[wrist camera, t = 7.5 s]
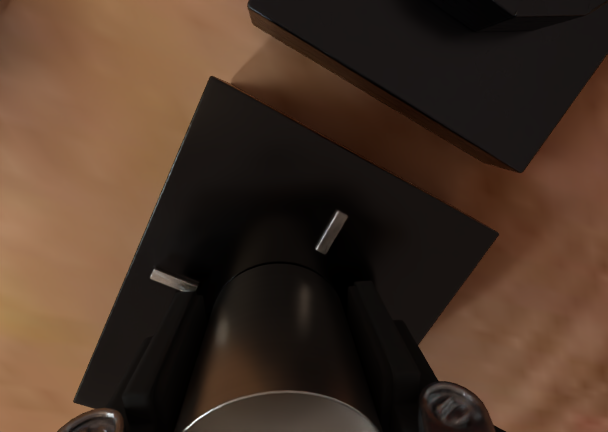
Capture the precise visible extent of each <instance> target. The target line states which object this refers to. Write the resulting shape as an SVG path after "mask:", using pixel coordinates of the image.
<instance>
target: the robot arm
mask: <svg viewBox="0 0 608 432" xmlns="http://www.w3.org/2000/svg"><path fill="white" fill-rule="evenodd" d="M347 322H348V325H349V328H350V331H351V334H352V338H353V341H354V344H355V347H356V350H357V353H358V356H359V359H360V362H361V366H362V369H363V372H364V375H365V378H366V381H367V384H368V387H369V391H370V394H371V397H372V400H373V403H374V406H375V409H376V412H377V415H378V419H379V422H380V425H381V428H382V431H383V432H506V431H504V430H502V429H500V428H498V427H496V426H494V425H493V423H492V421H491V418H490V416H489V413H488V410H487V409H486V407H485V405H484V404H483V402H482V401H481V400H480V399H479V398H478V397H477V396H476V395H475V394H474V393H473V392H471V391H470V390H468V389H467V388H465V387H463V386H460V385H458V384H455V383H451V382H446V381H438V380H437V378H436V376H435V374H434V373H433V371H432V369H431V367H430V366H429V364H428V362H427V361H426V359H425V357H424V355H423V354H422V352H421V350H420V348H419V347H418V345H417V343H416V341H415V340H414V338H413V336H412V334H411V333H410V331H409V329H408V328H407V326H406V324H405V323H404V321H403V320H392V318H391V316H390V314H389V312H388V310H387V308H386V307H385V305H384V303H383V301H382V299H381V297H380V295H379V293H378V291H377V289H376V288H375V286H374V284H373V282H372V281H358V282H354V286H349V287H348V307H347ZM206 328H207V321H206V314H205V307H204V299H203V296H202V295H198V296H197V293H196V291H188V292H177V293H176V294H175V296H174V298H173V300H172V302H171V304H170V305H169V307H168V309H167V311H166V313H165V315H164V317H163V319H162V321H161V322H160V324H159V326H158V328H157V330H156V332H155V334H154V336H148V337H146V338H145V339H144V341H143V342H142V344H141V345H140V347H139V349H138V351H137V353H136V354H135V356H134V358H133V360H132V362H131V363H130V365H129V367H128V369H127V370H126V372H125V374H124V376H123V378H122V379H121V381H120V383H119V385H118V386H117V388H116V390H115V392H114V394H113V395H112V397H111V399H110V401H109V402H108V404H107V406H106V408H99V409H93V410H91V411H88V412H85V413H82V414H81V415H79V416H77V417H75V418H73V419H72V420H70V421H69V422H68V423H66V424H65V425H64V426H63V427H61V428H60V429H59V430H58V431H57V432H174V430H175V426H176V423H177V420H178V417H179V414H180V411H181V407H182V404H183V401H184V398H185V395H186V392H187V388H188V385H189V382H190V379H191V376H192V373H193V369H194V366H195V363H196V360H197V357H198V354H199V350H200V347H201V344H202V341H203V338H204V335H205V331H206Z"/></svg>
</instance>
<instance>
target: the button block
mask: <svg viewBox="0 0 608 432" xmlns="http://www.w3.org/2000/svg"><path fill="white" fill-rule="evenodd" d="M247 7H248V10H249V13H250V17H251V20H252V23H253V24H254V25H255V26H256V27H258V28H260V29H261V30H263V31H265V32H266V33H268V34H270V35H271V36H273V37H275V38H276V39H278V40H280V41H281V42H283V43H285V44H286V45H288V46H290V47H291V48H293V49H295V50H296V51H298V52H300V53H301V54H303V55H305V56H306V57H308V58H310V59H311V60H313V61H315V62H316V63H318V64H320V65H321V66H323V67H325V68H326V69H328V70H330V71H331V72H333V73H335V74H336V75H338V76H340V77H341V78H343V79H345V80H346V81H348V82H350V83H351V84H353V85H355V86H356V87H358V88H360V89H361V90H363V91H365V92H366V93H368V94H370V95H371V96H373V97H375V98H376V99H378V100H380V101H381V102H383V103H385V104H386V105H388V106H390V107H392V108H393V109H395V110H397V111H398V112H400V113H402V114H403V115H405V116H407V117H408V118H410V119H412V120H413V121H415V122H417V123H418V124H420V125H422V126H423V127H425V128H427V129H428V130H430V131H432V132H433V133H435V134H437V135H438V136H440V137H442V138H443V139H445V140H447V141H448V142H450V143H452V144H453V145H455V146H457V147H458V148H460V149H462V150H463V151H465V152H467V153H468V154H470V155H472V156H473V157H475V158H477V159H478V160H480V161H482V162H483V163H487V164H490V165H494V166H497V167H500V168H504V169H507V170H511V171H514V172H518V173H522V172H523V171H524V170H525V169H526V167H527V166H528V164H529V163H530V162H531V160H532V159H533V157H534V156H535V155H536V153H537V152H538V150H539V149H540V148H541V146H542V145H543V143H544V142H545V141H546V139H547V138H548V136H549V135H550V134H551V132H552V131H553V129H554V128H555V127H556V125H557V124H558V122H559V121H560V120H561V118H562V117H563V115H564V114H565V113H566V111H567V110H568V108H569V107H570V106H571V104H572V103H573V101H574V100H575V99H576V97H577V96H578V94H579V93H580V92H581V90H582V89H583V87H584V86H585V85H586V83H587V82H588V80H589V79H590V78H591V76H592V75H593V73H594V72H595V71H596V69H597V68H598V66H599V65H600V64H601V62H602V61H603V59H604V58H605V57H606V55H607V54H608V0H249V1H248V5H247Z"/></svg>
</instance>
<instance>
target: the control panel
mask: <svg viewBox="0 0 608 432" xmlns="http://www.w3.org/2000/svg"><path fill="white" fill-rule="evenodd" d="M498 236H499V233H498V232H497V231H495V230H493V229H491V228H490V227H488V226H486V225H485V224H483V223H481V222H480V221H478V220H476V219H474V218H473V217H471V216H469V215H468V214H466V213H464V212H462V211H461V210H459V209H457V208H456V207H454V206H452V205H450V204H448V203H447V202H445V201H443V200H441V199H439V198H437V197H436V196H434V195H432V194H430V193H428V192H426V191H425V190H423V189H421V188H419V187H417V186H416V185H414V184H412V183H410V182H408V181H406V180H405V179H403V178H401V177H399V176H397V175H396V174H394V173H392V172H390V171H388V170H386V169H385V168H383V167H381V166H379V165H377V164H375V163H374V162H372V161H370V160H368V159H366V158H365V157H363V156H361V155H359V154H357V153H355V152H354V151H352V150H350V149H348V148H346V147H345V146H343V145H341V144H339V143H337V142H335V141H334V140H332V139H330V138H328V137H326V136H325V135H323V134H321V133H319V132H317V131H315V130H314V129H312V128H310V127H308V126H306V125H304V124H303V123H301V122H299V121H297V120H295V119H294V118H292V117H290V116H288V115H286V114H284V113H283V112H281V111H279V110H277V109H275V108H274V107H272V106H270V105H268V104H266V103H264V102H263V101H261V100H259V99H257V98H255V97H253V96H252V95H250V94H248V93H246V92H244V91H243V90H241V89H239V88H237V87H235V86H233V85H232V84H230V83H228V82H226V81H223V80H221V79H219V78H216V77H214V76H211V77H210V78H209V80H208V82H207V85H206V87H205V89H204V92H203V94H202V97H201V99H200V101H199V104H198V106H197V108H196V111H195V113H194V116H193V118H192V120H191V123H190V125H189V127H188V130H187V132H186V135H185V137H184V139H183V142H182V144H181V146H180V149H179V151H178V153H177V156H176V158H175V161H174V163H173V165H172V168H171V170H170V172H169V175H168V177H167V180H166V182H165V184H164V187H163V189H162V191H161V194H160V196H159V199H158V201H157V203H156V206H155V208H154V210H153V213H152V215H151V217H150V220H149V222H148V225H147V227H146V229H145V232H144V234H143V236H142V239H141V241H140V244H139V246H138V248H137V251H136V253H135V255H134V258H133V260H132V263H131V265H130V267H129V270H128V272H127V274H126V277H125V279H124V282H123V284H122V286H121V289H120V291H119V293H118V296H117V298H116V300H115V303H114V305H113V308H112V310H111V312H110V315H109V317H108V319H107V322H106V324H105V327H104V329H103V331H102V334H101V336H100V338H99V341H98V343H97V346H96V348H95V350H94V353H93V355H92V357H91V360H90V362H89V364H88V367H87V369H86V372H85V374H84V376H83V379H82V381H81V383H80V386H79V388H78V391H77V393H76V395H75V398H74V400H73V402H74V403H77V404H81V405H84V406H87V407H91V408H94V409H99V408H106V406H107V404H108V402H109V401H110V399H111V397H112V395H113V394H114V392H115V390H116V388H117V386H118V385H119V383H120V381H121V379H122V378H123V376H124V374H125V372H126V370H127V369H128V367H129V365H130V363H131V362H132V360H133V358H134V356H135V354H136V353H137V351H138V349H139V347H140V345H141V344H142V342H143V341H144V339H145V338H146V337H148V336H154V334H155V332H156V330H157V328H158V326H159V324H160V322H161V321H162V319H163V317H164V315H165V313H166V311H167V309H168V307H169V305H170V304H171V302H172V300H173V298H174V296H175V294H176V293H177V292H188V291H196V293H197V296H198V295H202V296H203V299H204V307H205V314H206V321H207V325H208V322H209V319H210V315H211V312H212V309H213V306H214V304H215V301H216V299H217V297H218V296H219V294H220V292H221V291H222V290H223V289H224V287H225V286H226V285H227V284H228V283H229V282H230V281H231V280H233V279H234V278H235V277H237V276H238V275H240V274H242V273H243V272H245V271H247V270H250V269H252V268H255V267H258V266H262V265H268V264H292V265H296V266H300V267H303V268H306V269H309V270H311V271H313V272H315V273H317V274H318V275H320V276H321V277H322V278H324V279H325V280H326V281H327V282H328V283H329V284H330V285H331V286H332V287H333V288H334V290H335V291H336V293H337V295H338V296H339V298H340V301H341V303H342V306H343V310H344V313H345V316H346V319H347V307H348V287H349V286H354V282H358V281H372V282H373V284H374V286H375V288H376V289H377V291H378V293H379V295H380V297H381V299H382V301H383V303H384V305H385V307H386V308H387V310H388V312H389V314H390V316H391V318H392V320H403V321H404V323H405V324H406V326H407V328H408V329H409V331H410V333H411V334H412V336H413V338H414V340H415V341H416V343H417V345H419V343H420V342H421V341H422V339H423V338H424V336H425V335H426V334H427V332H428V331H429V330H430V328H431V327H432V326H433V324H434V323H435V321H436V320H437V319H438V317H439V316H440V315H441V313H442V312H443V311H444V309H445V308H446V306H447V305H448V304H449V302H450V301H451V300H452V298H453V297H454V296H455V294H456V293H457V291H458V290H459V289H460V287H461V286H462V285H463V283H464V282H465V281H466V279H467V278H468V276H469V275H470V274H471V272H472V271H473V270H474V268H475V267H476V266H477V264H478V263H479V261H480V260H481V259H482V257H483V256H484V255H485V253H486V252H487V251H488V249H489V248H490V246H491V245H492V244H493V242H494V241H495V240H496V238H497V237H498Z"/></svg>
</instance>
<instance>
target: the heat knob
mask: <svg viewBox="0 0 608 432" xmlns="http://www.w3.org/2000/svg"><path fill="white" fill-rule="evenodd" d="M174 432H383V431H382V428H381V425H380V422H379V419H378V415H377V412H376V409H375V406H374V403H373V400H372V397H371V394H370V391H369V387H368V384H367V381H366V378H365V375H364V372H363V369H362V366H361V362H360V359H359V356H358V353H357V350H356V347H355V344H354V341H353V338H352V334H351V331H350V328H349V325H348V322H347V319H346V316H345V313H344V310H343V306H342V303H341V301H340V298H339V296H338V295H337V293H336V291H335V290H334V288H333V287H332V286H331V285H330V284H329V283H328V282H327V281H326V280H325V279H324V278H322V277H321V276H320V275H318V274H317V273H315V272H313V271H311V270H309V269H306V268H303V267H300V266H296V265H292V264H268V265H262V266H258V267H255V268H252V269H250V270H247V271H245V272H243V273H242V274H240V275H238V276H237V277H235V278H234V279H233V280H231V281H230V282H229V283H228V284H227V285H226V286H225V287H224V289H223V290H222V291H221V292H220V294H219V296H218V297H217V299H216V301H215V304H214V306H213V309H212V312H211V315H210V319H209V322H208V325H207V328H206V331H205V335H204V338H203V341H202V344H201V347H200V350H199V354H198V357H197V360H196V363H195V366H194V369H193V373H192V376H191V379H190V382H189V385H188V388H187V392H186V395H185V398H184V401H183V404H182V407H181V411H180V414H179V417H178V420H177V423H176V426H175V430H174Z"/></svg>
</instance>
